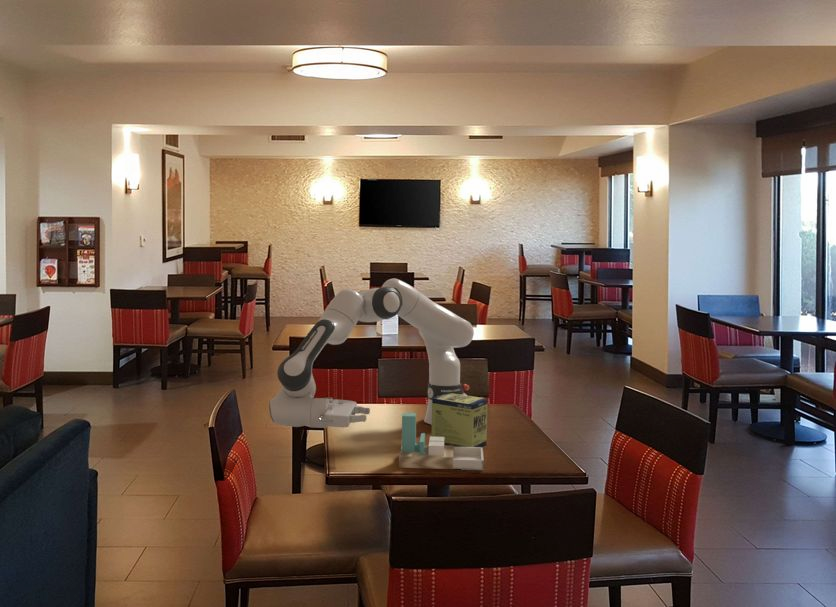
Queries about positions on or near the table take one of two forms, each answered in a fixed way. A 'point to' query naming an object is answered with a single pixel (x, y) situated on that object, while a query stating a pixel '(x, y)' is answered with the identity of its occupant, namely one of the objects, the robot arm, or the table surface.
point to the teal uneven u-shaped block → (411, 435)
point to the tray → (468, 458)
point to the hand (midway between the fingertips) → (368, 414)
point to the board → (427, 459)
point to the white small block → (436, 448)
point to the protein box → (460, 420)
